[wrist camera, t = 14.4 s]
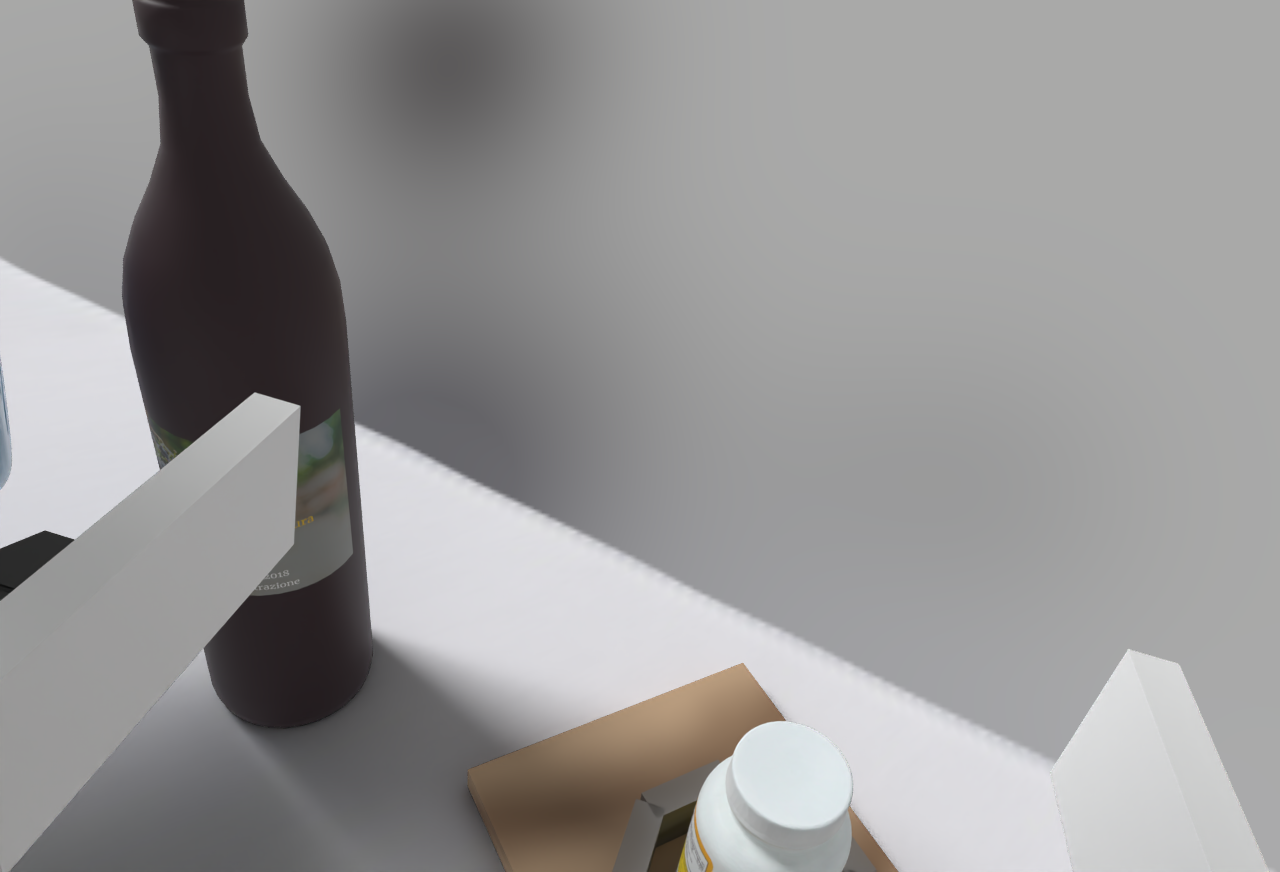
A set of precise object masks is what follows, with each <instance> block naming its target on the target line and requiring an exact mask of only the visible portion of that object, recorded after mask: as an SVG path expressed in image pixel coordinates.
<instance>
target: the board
mask: <svg viewBox="0 0 1280 872" xmlns="http://www.w3.org/2000/svg"><path fill="white" fill-rule="evenodd" d="M775 721H786V720H785V719H784V717H783V716H782V715H781V713H780V712H779V711H778V709H777V708H776V707H775V705H774V704H773V703H772V701H771V700H770V699H769V697H768V696H767V694H766V693H765V692H764V690H763V689H762V688H761V686H760V685H759V684H758V682H757V681H756V680H755V678H754V677H753V676H752V674H751V673H750V672H749V670H748V669H747V668H746V666H745V665H744V664H743V663H741V664H739V665H736V666H733V667H731V668H728V669H726V670H723V671H721V672H718V673H715V674H713V675H710V676H708V677H705V678H703V679H700V680H697V681H695V682H692V683H690V684H687V685H685V686H682V687H679V688H677V689H674V690H672V691H669V692H667V693H664V694H661V695H659V696H656V697H654V698H651V699H648V700H646V701H643V702H641V703H638V704H636V705H633V706H630V707H628V708H625V709H623V710H620V711H618V712H615V713H612V714H610V715H607V716H605V717H602V718H600V719H597V720H594V721H592V722H589V723H587V724H584V725H581V726H579V727H576V728H574V729H571V730H569V731H566V732H563V733H561V734H558V735H556V736H553V737H551V738H548V739H545V740H543V741H540V742H538V743H535V744H533V745H530V746H527V747H525V748H522V749H520V750H517V751H515V752H512V753H509V754H507V755H504V756H502V757H499V758H496V759H494V760H491V761H489V762H486V763H484V764H481V765H478V766H476V767H473V768H471V769H468V784H467V786H468V788H469V790H470V793H471V795H472V797H473V799H474V802H475V804H476V806H477V808H478V811H479V813H480V815H481V817H482V820H483V822H484V824H485V826H486V829H487V831H488V833H489V835H490V838H491V840H492V842H493V845H494V847H495V849H496V851H497V854H498V856H499V858H500V860H501V863H502V865H503V867H504V869H505V872H676V870H677V867H678V863H679V860H680V857H681V854H682V850H683V847H684V844H685V840H686V837H687V833H688V830H689V826H690V823H691V820H692V816H693V813H694V809H695V806H696V803H697V800H698V796H699V793H700V791H701V788H702V786H703V784H704V782H705V780H706V779H707V777H708V776H709V774H710V773H711V772H712V771H713V770H714V769H715V768H716V767H717V766H718V765H719V764H720V763H721V762H723V761H724V760H725V759H727V758H729V757H730V756H732V755H733V753H734V751H735V748H736V746H737V744H738V743H739V741H740V740H741V739H742V738H743V736H744V735H745V734H746V733H748V732H749V731H750V730H752V729H754V728H755V727H757V726H759V725H762V724H765V723H769V722H775ZM848 813H849V817H850V821H851V829H852V840H851V848H850V853H849V856H848V859H847V862H846V864H845V866H844V868H843V871H842V872H898V871H897V869H896V868H895V867H894V865H893V864H892V863H891V861H890V860H889V859H888V857H887V856H886V855H885V853H884V852H883V851H882V849H881V848H880V846H879V845H878V844H877V842H876V841H875V840H874V838H873V837H872V836H871V834H870V833H869V832H868V830H867V829H866V828H865V826H864V825H863V824H862V822H861V821H860V820H859V818H858V817H857V816H856V814H855V813H854V811H853V810H852V809H851V807H850V806H849V808H848Z"/></svg>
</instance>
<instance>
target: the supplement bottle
mask: <svg viewBox="0 0 1280 872" xmlns="http://www.w3.org/2000/svg"><path fill="white" fill-rule="evenodd" d="M852 795H853V778H852V773H851V770H850V767H849V765H848V763H847V761H846V759H845V757H844V755H843V754H842V753H841V751H840V750H839V749H838V748H837V746H836V745H835V744H834V743H833V742H832V741H831V740H829V739H828V738H827V737H826V736H824V735H823V734H821V733H820V732H818V731H816V730H814V729H812V728H810V727H808V726H805V725H802V724H798V723H793V722H788V721H775V722H769V723H765V724H762V725H759V726H757V727H755V728H754V729H752V730H750V731H749V732H748V733H746V734H745V735H744V736H743V738H742V739H741V740H740V741H739V743H738V744H737V746H736V748H735V751H734V753H733V755H732V756H730V757H729V758H727V759H725V760H724V761H723V762H721V763H720V764H719V765H718V766H717V767H716V768H715V769H714V770H713V771H712V772H711V773H710V774H709V776H708V777H707V779H706V780H705V782H704V784H703V786H702V788H701V791H700V793H699V796H698V800H697V803H696V806H695V809H694V813H693V816H692V820H691V823H690V826H689V830H688V833H687V837H686V840H685V844H684V847H683V850H682V854H681V857H680V860H679V863H678V867H677V870H676V872H842V871H843V868H844V866H845V864H846V862H847V859H848V856H849V853H850V848H851V840H852V829H851V821H850V817H849V813H848V808H849V806H850V803H851V799H852Z"/></svg>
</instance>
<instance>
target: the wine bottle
mask: <svg viewBox="0 0 1280 872" xmlns="http://www.w3.org/2000/svg"><path fill="white" fill-rule="evenodd" d="M132 1H133V6H134V11H135V17H136V22H137V27H138V32H139V36H140V37H141V38H142V39H143V40H144V41H145V42H146V43H147V44H148V45H149V48H150V53H151V58H152V63H153V68H154V74H155V79H156V85H157V90H158V95H159V118H160V139H161V140H160V142H161V144H160V148H159V151H158V154H157V158H156V161H155V165H154V168H153V172H152V175H151V178H150V182H149V184H148V187H147V189H146V192H145V194H144V196H143V199H142V201H141V203H140V206H139V208H138V211H137V213H136V215H135V218H134V221H133V224H132V228H131V232H130V235H129V239H128V243H127V247H126V251H125V254H124V258H123V282H122V284H123V285H122V299H123V307H124V313H125V319H126V325H127V331H128V337H129V343H130V349H131V353H132V357H133V361H134V365H135V369H136V373H137V378H138V382H139V386H140V390H141V394H142V398H143V402H144V406H145V410H146V414H147V419H148V423H149V427H150V431H151V435H152V439H153V443H154V447H155V451H156V455H157V459H158V464H159V468H160V470H161V469H162V468H163V467H164V466H166V465H167V464H168V463H169V462H170V461H172V460H173V459H174V458H175V457H177V456H178V455H179V454H180V453H181V452H183V451H184V450H185V449H186V448H188V447H189V446H190V445H191V444H192V443H194V442H195V441H196V440H197V439H199V438H200V437H201V436H202V435H203V434H205V433H206V432H207V431H208V430H209V429H211V428H212V427H213V426H214V425H216V424H217V423H218V422H219V421H220V420H222V419H223V418H224V417H225V416H227V415H228V414H229V413H230V412H231V411H233V410H234V409H235V408H236V407H238V406H239V405H240V404H241V403H242V402H244V401H245V400H246V399H247V398H249V397H250V396H251V395H252V394H253V393H258V394H262V395H265V396H268V397H272V398H275V399H279V400H282V401H285V402H289V403H292V404H296V405H299V406H301V408H300V429H299V449H298V470H297V491H296V511H295V532H294V545H293V546H292V547H291V548H290V549H289V550H288V551H287V553H286V554H285V555H284V556H283V557H282V558H281V560H280V561H279V562H278V563H277V564H276V565H275V566H274V568H273V569H272V570H271V571H270V572H269V573H268V574H267V576H266V577H265V578H264V579H263V580H262V581H261V583H260V584H259V585H258V586H257V587H256V588H255V589H254V591H253V592H252V593H251V594H250V595H249V596H248V598H247V599H246V600H245V601H244V602H243V603H242V604H241V606H240V607H239V608H238V609H237V610H236V611H235V612H234V614H233V615H232V616H231V617H230V618H229V619H228V621H227V622H226V623H225V624H224V625H223V626H222V627H221V629H220V630H219V631H218V632H217V633H216V634H215V635H214V637H213V638H212V639H211V640H210V641H209V642H208V644H207V645H206V646H205V647H204V652H205V656H206V660H207V664H208V668H209V672H210V676H211V681H212V685H213V687H214V689H215V691H216V693H217V695H218V697H219V698H220V699H221V701H222V702H223V703H224V704H225V705H226V707H227V708H228V709H229V710H230V711H231V712H232V713H234V714H235V715H236V716H238V717H239V718H241V719H243V720H245V721H248V722H250V723H252V724H255V725H260V726H265V727H277V728H286V727H294V726H301V725H305V724H308V723H312V722H315V721H318V720H320V719H322V718H324V717H327V716H329V715H331V714H332V713H334V712H336V711H337V710H339V709H340V708H342V707H343V706H344V705H345V704H347V703H348V702H349V701H350V700H351V699H352V698H353V697H354V696H355V695H356V693H357V692H358V691H359V689H360V688H361V687H362V685H363V683H364V681H365V679H366V677H367V675H368V672H369V669H370V665H371V660H372V656H373V648H372V633H371V621H370V609H369V596H368V584H367V572H366V559H365V547H364V535H363V523H362V510H361V498H360V486H359V473H358V461H357V449H356V437H355V424H354V412H353V400H352V387H351V375H350V365H349V364H350V363H349V350H348V338H347V327H346V317H345V311H344V304H343V297H342V291H341V284H340V279H339V277H338V274H337V271H336V268H335V265H334V262H333V259H332V256H331V253H330V250H329V248H328V245H327V243H326V241H325V238H324V237H323V235H322V233H321V231H320V230H319V228H318V226H317V225H316V223H315V221H314V219H313V218H312V216H311V214H310V213H309V211H308V209H307V208H306V206H305V205H304V204H303V203H302V201H301V200H300V198H299V197H298V196H297V194H296V193H295V192H294V190H293V189H292V188H291V186H290V185H289V184H288V182H287V181H286V180H285V178H284V177H283V175H282V174H281V172H280V170H279V169H278V167H277V166H276V164H275V162H274V161H273V159H272V158H271V156H270V154H269V152H268V151H267V149H266V148H265V146H264V144H263V143H262V141H261V139H260V136H259V132H258V129H257V124H256V121H255V117H254V113H253V110H252V106H251V102H250V99H249V95H248V87H247V80H246V72H245V65H244V57H243V49H242V45H243V43H244V42H245V40H246V38H247V37H248V29H247V22H246V13H245V5H244V0H132Z"/></svg>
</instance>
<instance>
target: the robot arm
mask: <svg viewBox="0 0 1280 872" xmlns="http://www.w3.org/2000/svg"><path fill="white" fill-rule="evenodd" d="M300 408H301V406H299V405H296V404H292V403H289V402H285V401H282V400H279V399H275V398H272V397H268V396H265V395H262V394H258V393H253V394H252V395H251V396H250V397H249V398H247V399H246V400H245V401H244V402H242V403H241V404H240V405H239V406H238V407H236V408H235V409H234V410H233V411H231V412H230V413H229V414H228V415H227V416H225V417H224V418H223V419H222V420H220V421H219V422H218V423H217V424H216V425H214V426H213V427H212V428H211V429H209V430H208V431H207V432H206V433H205V434H203V435H202V436H201V437H200V438H199V439H197V440H196V441H195V442H194V443H192V444H191V445H190V446H189V447H188V448H186V449H185V450H184V451H183V452H181V453H180V454H179V455H178V456H177V457H175V458H174V459H173V460H172V461H170V462H169V463H168V464H167V465H166V466H164V467H163V468H162V469H161V470H159V471H158V472H157V473H156V474H155V475H153V476H152V477H151V478H150V479H149V480H147V481H146V482H145V483H144V484H142V485H141V486H140V487H139V488H138V489H136V490H135V491H134V492H133V493H131V494H130V495H129V496H128V497H127V498H125V499H124V500H123V501H122V502H120V503H119V504H118V505H117V506H116V507H114V508H113V509H112V510H111V511H109V512H108V513H107V514H106V515H105V516H103V517H102V518H101V519H100V520H99V521H97V522H96V523H95V524H94V525H92V526H91V527H90V528H89V529H88V530H86V531H85V532H84V533H83V534H81V535H80V536H79V537H78V538H77V539H75V540H74V539H71V538H68V537H64V536H61V535H58V534H55V533H51V532H48V531H43V532H40V533H38V534H35V535H33V536H30V537H28V538H25V539H23V540H20V541H18V542H16V543H13V544H11V545H8V546H6V547H3V548H1V549H0V872H9V871H10V870H11V869H12V868H13V867H14V866H15V865H16V863H17V862H18V861H19V860H20V859H21V858H22V856H23V855H24V854H25V853H26V852H27V851H28V850H29V848H30V847H31V846H32V845H33V844H34V843H35V841H36V840H37V839H38V838H39V837H40V836H41V835H42V833H43V832H44V831H45V830H46V829H47V828H48V827H49V825H50V824H51V823H52V822H53V821H54V820H55V818H56V817H57V816H58V815H59V814H60V813H61V812H62V810H63V809H64V808H65V807H66V806H67V805H68V804H69V802H70V801H71V800H72V799H73V798H74V797H75V795H76V794H77V793H78V792H79V791H80V790H81V789H82V787H83V786H84V785H85V784H86V783H87V782H88V781H89V779H90V778H91V777H92V776H93V775H94V774H95V772H96V771H97V770H98V769H99V768H100V767H101V766H102V764H103V763H104V762H105V761H106V760H107V759H108V757H109V756H110V755H111V754H112V753H113V752H114V751H115V749H116V748H117V747H118V746H119V745H120V744H121V743H122V741H123V740H124V739H125V738H126V737H127V736H128V734H129V733H130V732H131V731H132V730H133V729H134V728H135V726H136V725H137V724H138V723H139V722H140V721H141V720H142V718H143V717H144V716H145V715H146V714H147V713H148V711H149V710H150V709H151V708H152V707H153V706H154V705H155V703H156V702H157V701H158V700H159V699H160V698H161V696H162V695H163V694H164V693H165V692H166V691H167V690H168V688H169V687H170V686H171V685H172V684H173V683H174V682H175V680H176V679H177V678H178V677H179V676H180V675H181V673H182V672H183V671H184V670H185V669H186V668H187V667H188V665H189V664H190V663H191V662H192V661H193V660H194V659H195V657H196V656H197V655H198V654H199V653H200V652H201V650H202V649H203V648H204V647H205V646H206V645H207V644H208V642H209V641H210V640H211V639H212V638H213V637H214V635H215V634H216V633H217V632H218V631H219V630H220V629H221V627H222V626H223V625H224V624H225V623H226V622H227V621H228V619H229V618H230V617H231V616H232V615H233V614H234V612H235V611H236V610H237V609H238V608H239V607H240V606H241V604H242V603H243V602H244V601H245V600H246V599H247V598H248V596H249V595H250V594H251V593H252V592H253V591H254V589H255V588H256V587H257V586H258V585H259V584H260V583H261V581H262V580H263V579H264V578H265V577H266V576H267V574H268V573H269V572H270V571H271V570H272V569H273V568H274V566H275V565H276V564H277V563H278V562H279V561H280V560H281V558H282V557H283V556H284V555H285V554H286V553H287V551H288V550H289V549H290V548H291V547H292V546H293V545H294V532H295V511H296V491H297V470H298V449H299V429H300ZM11 466H12V452H11V438H10V428H9V419H8V410H7V402H6V394H5V386H4V379H3V371H2V364H1V357H0V490H1V488H2V487H3V486H4V484H5V483H6V481H7V479H8V477H9V475H10V471H11ZM1050 775H1051V779H1052V784H1053V788H1054V792H1055V797H1056V801H1057V805H1058V810H1059V814H1060V818H1061V823H1062V827H1063V831H1064V836H1065V840H1066V844H1067V849H1068V853H1069V857H1070V862H1071V866H1072V870H1073V872H1269V870H1268V868H1267V865H1266V863H1265V861H1264V858H1263V856H1262V854H1261V851H1260V849H1259V847H1258V845H1257V842H1256V840H1255V838H1254V835H1253V833H1252V831H1251V828H1250V826H1249V824H1248V822H1247V819H1246V817H1245V815H1244V813H1243V810H1242V808H1241V805H1240V803H1239V801H1238V798H1237V796H1236V794H1235V792H1234V789H1233V787H1232V785H1231V782H1230V780H1229V778H1228V775H1227V773H1226V771H1225V769H1224V766H1223V764H1222V762H1221V759H1220V757H1219V755H1218V752H1217V750H1216V748H1215V745H1214V743H1213V741H1212V739H1211V736H1210V734H1209V732H1208V729H1207V727H1206V725H1205V722H1204V720H1203V718H1202V716H1201V713H1200V711H1199V709H1198V706H1197V704H1196V702H1195V699H1194V697H1193V695H1192V693H1191V690H1190V688H1189V686H1188V684H1187V681H1186V679H1185V676H1184V674H1183V672H1182V669H1181V667H1180V665H1179V664H1177V663H1174V662H1170V661H1167V660H1164V659H1160V658H1157V657H1153V656H1150V655H1146V654H1143V653H1140V652H1136V651H1133V650H1129V649H1128V651H1127V652H1126V654H1125V655H1124V657H1123V658H1122V660H1121V662H1120V663H1119V665H1118V666H1117V668H1116V669H1115V671H1114V673H1113V674H1112V676H1111V677H1110V679H1109V680H1108V682H1107V684H1106V685H1105V687H1104V688H1103V690H1102V691H1101V693H1100V695H1099V696H1098V698H1097V699H1096V701H1095V702H1094V704H1093V706H1092V707H1091V709H1090V710H1089V712H1088V713H1087V715H1086V717H1085V718H1084V720H1083V721H1082V723H1081V725H1080V726H1079V728H1078V729H1077V731H1076V732H1075V734H1074V735H1073V737H1072V739H1071V740H1070V742H1069V743H1068V745H1067V747H1066V748H1065V750H1064V751H1063V753H1062V754H1061V756H1060V758H1059V759H1058V761H1057V762H1056V764H1055V765H1054V767H1053V768H1052V770H1051V772H1050Z"/></svg>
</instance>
